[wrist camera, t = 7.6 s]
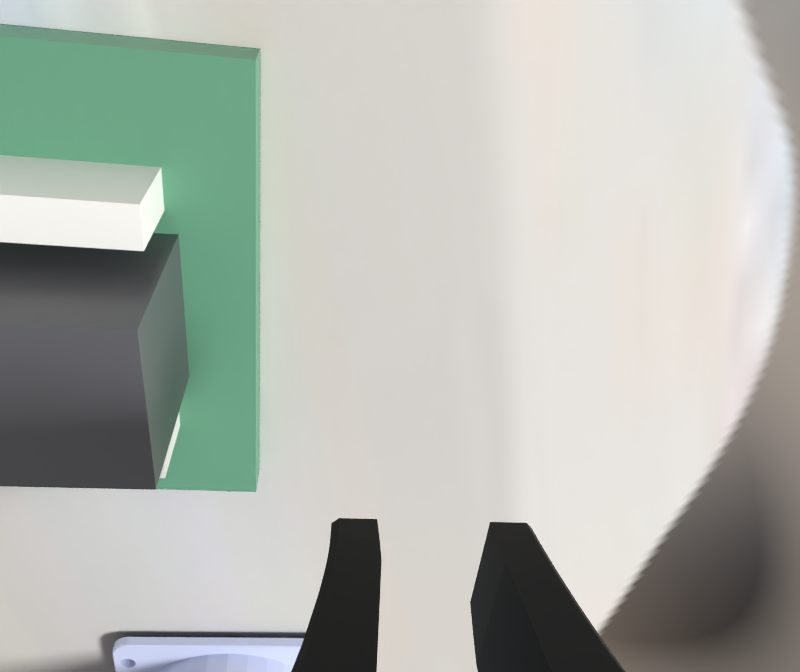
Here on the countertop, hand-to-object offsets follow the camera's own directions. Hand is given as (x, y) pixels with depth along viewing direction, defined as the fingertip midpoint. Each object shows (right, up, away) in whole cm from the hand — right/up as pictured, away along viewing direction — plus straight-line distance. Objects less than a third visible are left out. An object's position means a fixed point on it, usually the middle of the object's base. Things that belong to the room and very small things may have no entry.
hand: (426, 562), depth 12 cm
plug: (-8, +5, +5) cm, 11 cm away
